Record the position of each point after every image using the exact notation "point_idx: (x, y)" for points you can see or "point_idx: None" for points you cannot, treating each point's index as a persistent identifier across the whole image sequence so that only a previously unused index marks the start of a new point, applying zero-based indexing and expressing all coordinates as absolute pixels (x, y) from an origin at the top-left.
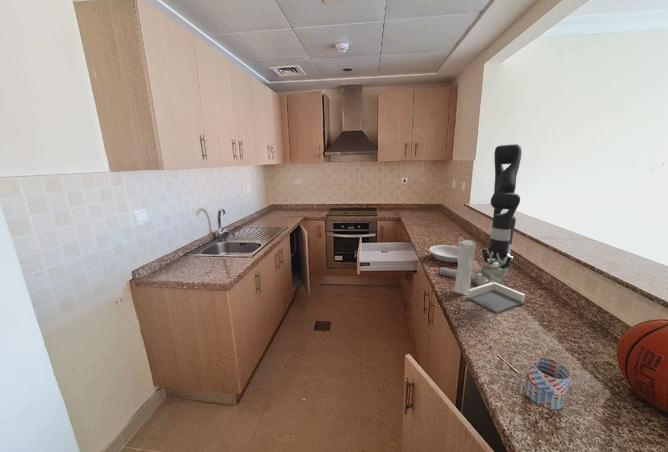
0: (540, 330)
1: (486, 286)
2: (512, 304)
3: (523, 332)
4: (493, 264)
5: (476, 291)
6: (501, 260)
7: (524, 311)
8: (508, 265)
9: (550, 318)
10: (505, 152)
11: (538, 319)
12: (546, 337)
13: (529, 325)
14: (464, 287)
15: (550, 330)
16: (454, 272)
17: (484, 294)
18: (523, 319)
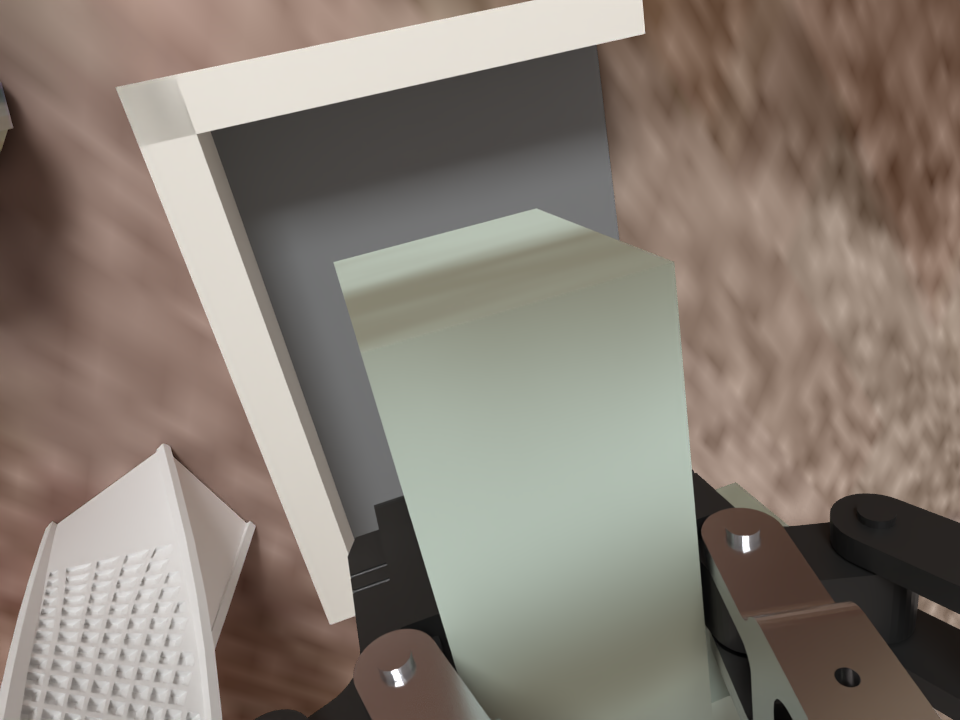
0: (897, 289)
1: (269, 334)
2: (597, 211)
3: (854, 425)
4: (552, 702)
5: (334, 500)
6: (785, 702)
7: (692, 162)
8: (929, 552)
9: (859, 19)
10: None
11: (820, 158)
12: (948, 319)
13: (831, 315)
14: (214, 593)
15: (931, 212)
16: None
17: (319, 355)
18: (767, 292)
